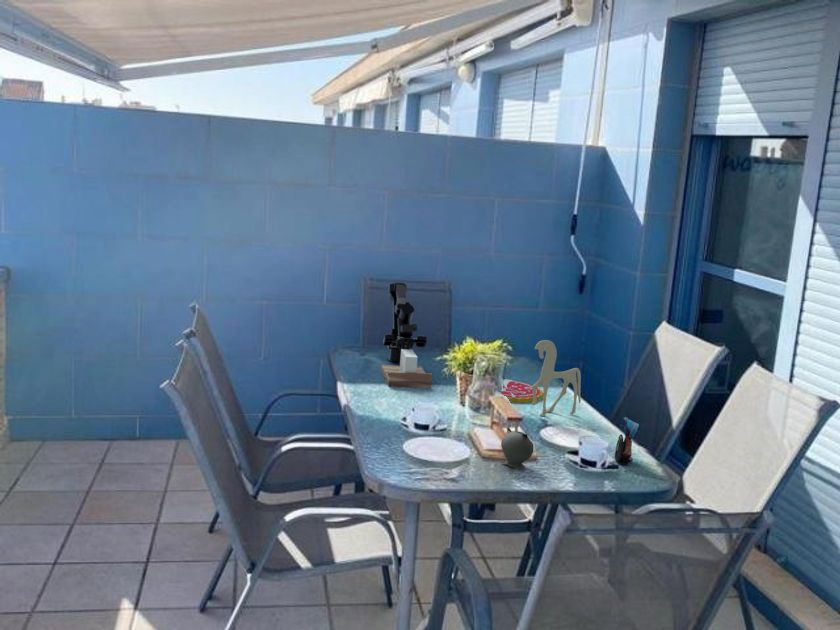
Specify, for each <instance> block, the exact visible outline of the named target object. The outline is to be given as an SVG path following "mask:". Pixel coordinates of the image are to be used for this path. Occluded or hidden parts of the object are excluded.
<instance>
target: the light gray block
mask: <svg viewBox="0 0 840 630" xmlns="http://www.w3.org/2000/svg"><path fill="white" fill-rule="evenodd" d="M399 366H400V370H399V372H408V373H416V370H417V366H418V356H417V354H416V353H415V351H414V350H413V349H409V350H407V349H401V357H400V362H399Z"/></svg>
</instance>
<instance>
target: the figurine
mask: <svg viewBox="0 0 840 630" xmlns="http://www.w3.org/2000/svg"><path fill="white" fill-rule="evenodd" d="M623 420H624V421H625V422H624V428H623V429H624V430H623V431H624V437H623V434H622V433H620V434H619V435H618V439H617V441H616V446H615V453H614V461H615V460H616V461H615V463H616V462H617V463H618V464H617V463H616V464H617V465H618V466H620V467H621V466H623V467H626V466H628V464H629V463H631V462H633V460H634V458H633V457H632V444H633V440H634V439H635V437H636V436H637V434H638V432H639V430H641V427H640V424H639V423H637V422H634V421H632V420H631V419H629V418H628V417H627V416H625V417H623Z"/></svg>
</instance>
